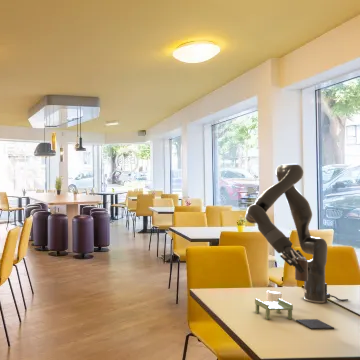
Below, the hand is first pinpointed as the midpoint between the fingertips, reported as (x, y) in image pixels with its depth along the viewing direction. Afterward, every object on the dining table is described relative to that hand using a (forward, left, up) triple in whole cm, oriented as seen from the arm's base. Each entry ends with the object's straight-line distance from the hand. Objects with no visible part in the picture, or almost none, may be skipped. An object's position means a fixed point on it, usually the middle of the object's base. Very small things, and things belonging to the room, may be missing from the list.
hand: (306, 271), depth 171 cm
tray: (+9, -10, -23) cm, 26 cm away
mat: (-2, +2, -23) cm, 23 cm away
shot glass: (0, -24, -23) cm, 33 cm away
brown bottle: (+1, -2, -4) cm, 5 cm away
